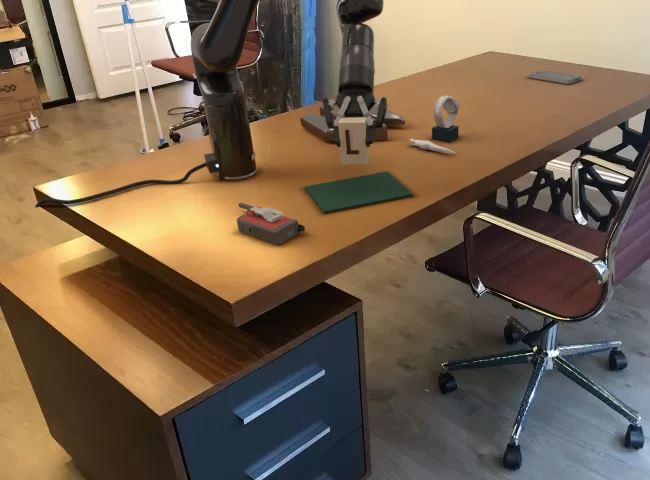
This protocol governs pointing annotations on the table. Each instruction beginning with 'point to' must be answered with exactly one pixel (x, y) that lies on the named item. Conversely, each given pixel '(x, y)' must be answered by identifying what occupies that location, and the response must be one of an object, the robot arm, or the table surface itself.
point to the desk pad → (357, 192)
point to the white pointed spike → (430, 146)
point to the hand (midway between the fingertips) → (353, 145)
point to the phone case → (555, 76)
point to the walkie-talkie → (268, 224)
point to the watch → (446, 129)
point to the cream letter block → (353, 140)
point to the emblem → (319, 124)
